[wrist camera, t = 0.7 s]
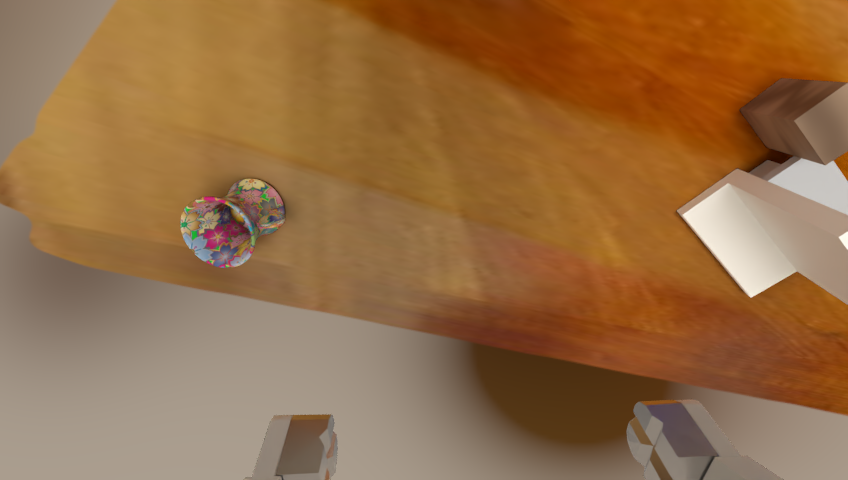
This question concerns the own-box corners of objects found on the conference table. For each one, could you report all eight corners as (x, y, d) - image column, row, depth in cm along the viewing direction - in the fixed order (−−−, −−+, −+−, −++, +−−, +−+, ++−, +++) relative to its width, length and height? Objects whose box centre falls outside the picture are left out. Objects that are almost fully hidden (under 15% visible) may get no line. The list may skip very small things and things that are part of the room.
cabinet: (791, 70, 45) (860, 73, 37) (818, 111, 47) (891, 122, 39) (739, 109, 48) (794, 120, 39) (766, 147, 49) (825, 165, 41)
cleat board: (787, 133, 48) (949, 172, 32) (853, 227, 51) (1031, 306, 35) (676, 210, 53) (766, 279, 37) (743, 291, 56) (853, 387, 40)
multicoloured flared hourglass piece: (238, 237, 62) (195, 270, 52) (219, 177, 58) (168, 200, 49) (314, 231, 60) (283, 264, 50) (299, 169, 56) (262, 192, 47)
